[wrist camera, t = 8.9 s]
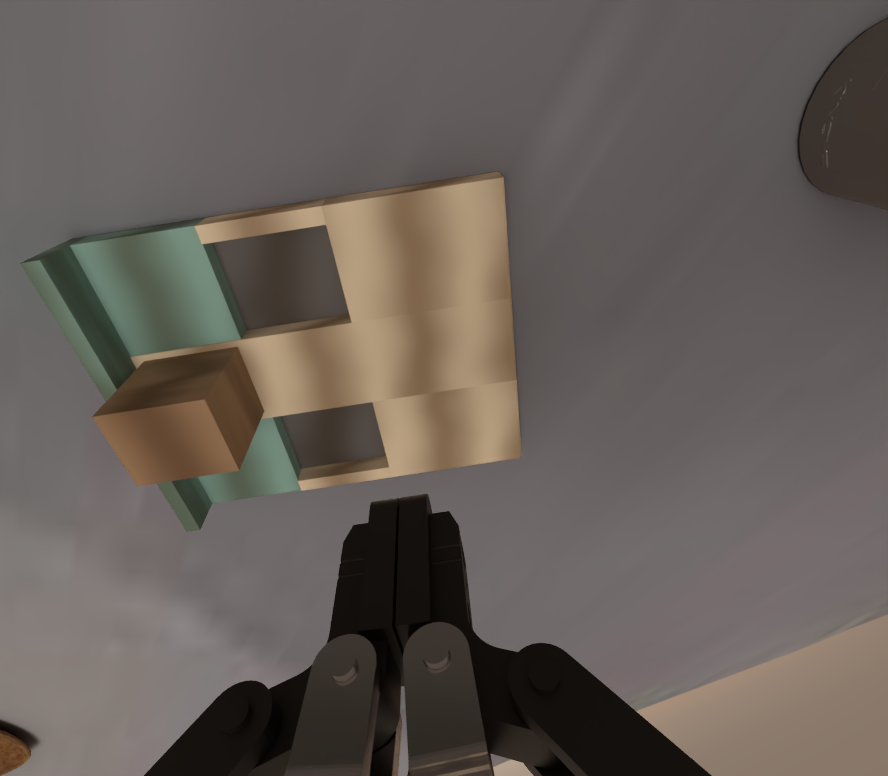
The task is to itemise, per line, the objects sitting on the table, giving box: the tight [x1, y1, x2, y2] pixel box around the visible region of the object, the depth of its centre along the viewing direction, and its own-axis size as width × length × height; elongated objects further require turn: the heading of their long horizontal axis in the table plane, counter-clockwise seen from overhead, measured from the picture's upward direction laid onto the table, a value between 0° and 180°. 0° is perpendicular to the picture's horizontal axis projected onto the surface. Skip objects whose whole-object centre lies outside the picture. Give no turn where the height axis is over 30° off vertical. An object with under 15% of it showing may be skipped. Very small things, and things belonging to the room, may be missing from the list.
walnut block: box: [92, 347, 264, 486], centre depth 29 cm, size 6×5×6 cm
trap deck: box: [20, 172, 522, 532], centre depth 31 cm, size 25×20×4 cm
